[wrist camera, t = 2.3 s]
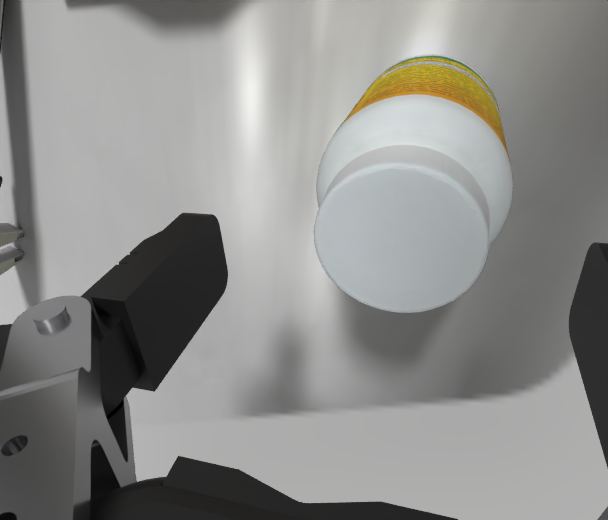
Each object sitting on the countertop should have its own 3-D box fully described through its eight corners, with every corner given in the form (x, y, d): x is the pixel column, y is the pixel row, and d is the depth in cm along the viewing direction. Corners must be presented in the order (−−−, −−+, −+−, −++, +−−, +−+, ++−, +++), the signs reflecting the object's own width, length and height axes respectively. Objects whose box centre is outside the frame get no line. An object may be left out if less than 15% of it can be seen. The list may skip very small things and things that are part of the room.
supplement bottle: (489, 189, 19) (505, 351, 11) (359, 184, 21) (296, 325, 13) (508, 46, 16) (547, 134, 9) (356, 53, 18) (273, 133, 10)
